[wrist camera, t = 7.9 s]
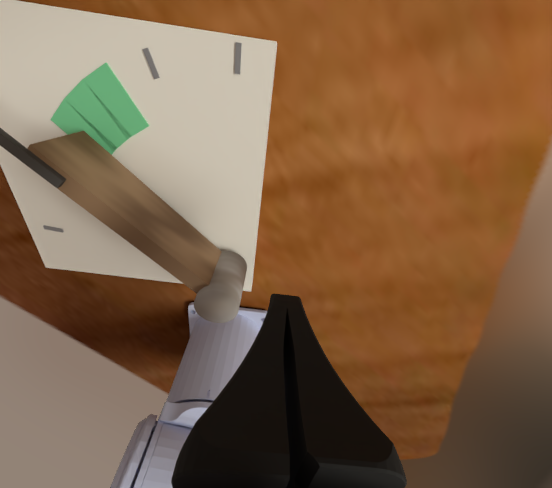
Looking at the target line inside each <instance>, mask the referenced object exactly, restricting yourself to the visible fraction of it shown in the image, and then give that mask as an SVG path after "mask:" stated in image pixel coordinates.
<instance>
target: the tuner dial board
mask: <svg viewBox="0 0 552 488" xmlns="http://www.w3.org/2000/svg"><path fill="white" fill-rule="evenodd" d="M276 51H277V42H276V41H269V40H263V39H257V38H250V37H244V36H238V35H231V34H225V33H219V32H212V31H206V30H200V29H193V28H187V27H181V26H174V25H168V24H162V23H155V22H149V21H143V20H136V19H130V18H124V17H117V16H111V15H105V14H98V13H92V12H86V11H80V10H73V9H67V8H61V7H54V6H48V5H42V4H35V3H29V2H23V1H16V0H0V128H1V129H3V130H4V131H5V132H6V133H8V134H9V135H10V136H12V137H13V138H14V139H15V140H17V141H18V142H19V143H21V144H22V145H23V146H24V147H26V148H28V147H29V145H30V144H34V143H38V142H41V141H45V140H49V139H53V138H57V137H61V136H65V135H68V134H72V133H76V132H80V131H85V132H86V133H87V134H88V135H89V136H90V137H92V138H93V139H94V140H95V141H96V142H97V143H98V144H100V145H101V146H102V147H103V148H104V149H105V150H106V151H108V152H109V153H110V154H111V155H112V156H113V157H114V158H116V159H117V160H118V161H119V162H120V163H121V164H122V165H123V166H125V167H126V168H127V169H128V170H129V171H130V172H131V173H133V174H134V175H135V176H136V177H137V178H138V179H139V180H141V181H142V182H143V183H144V184H145V185H146V186H147V187H149V188H150V189H151V190H152V191H153V192H154V193H155V194H157V195H158V196H159V197H160V198H161V199H162V200H163V201H165V202H166V203H167V204H168V205H169V206H170V207H171V208H173V209H174V210H175V211H176V212H177V213H178V214H179V215H181V216H182V217H183V218H184V219H185V220H186V221H187V222H189V223H190V224H191V225H192V226H193V227H194V228H195V229H197V230H198V231H199V232H200V233H201V234H202V235H203V236H205V237H206V238H207V239H208V240H209V241H210V242H211V243H213V244H214V245H215V246H216V247H217V248H218V249H219V250H220V251H232V252H235V253H237V254H239V255H241V256H242V257H243V258H244V260H245V261H246V264H247V271H246V276H245V281H244V286H243V291H250V292H251V289H252V282H253V272H254V263H255V253H256V244H257V234H258V224H259V215H260V205H261V196H262V186H263V176H264V167H265V157H266V147H267V138H268V128H269V119H270V109H271V99H272V90H273V80H274V71H275V61H276ZM0 165H1V167H2V170H3V172H4V174H5V177H6V179H7V181H8V183H9V186H10V188H11V190H12V192H13V195H14V197H15V199H16V201H17V204H18V206H19V208H20V210H21V213H22V215H23V217H24V219H25V222H26V224H27V226H28V228H29V231H30V233H31V235H32V238H33V240H34V242H35V244H36V247H37V249H38V251H39V253H40V256H41V258H42V260H43V262H44V265H45V267H46V268H54V269H63V270H71V271H80V272H88V273H97V274H105V275H114V276H122V277H131V278H139V279H148V280H156V281H165V282H173V283H182V282H181V281H179V280H178V279H177V278H175V277H174V276H173V275H172V274H170V273H169V272H168V271H166V270H165V269H164V268H162V267H161V266H160V265H158V264H157V263H156V262H154V261H153V260H152V259H150V258H149V257H148V256H146V255H145V254H144V253H142V252H141V251H140V250H138V249H137V248H136V247H134V246H133V245H132V244H130V243H129V242H128V241H126V240H125V239H124V238H122V237H121V236H120V235H118V234H117V233H116V232H114V231H113V230H112V229H110V228H109V227H108V226H106V225H105V224H104V223H102V222H101V221H100V220H98V219H97V218H96V217H94V216H93V215H92V214H90V213H89V212H88V211H86V210H85V209H84V208H82V207H81V206H80V205H78V204H77V203H76V202H74V201H73V200H72V199H70V198H69V197H68V196H66V195H65V194H64V193H62V192H61V191H60V190H58V189H57V188H56V187H54V186H53V185H52V184H50V183H49V182H48V181H46V180H45V179H44V178H42V177H41V176H40V175H38V174H37V173H36V172H34V171H33V170H32V169H30V168H29V167H28V166H26V165H25V164H24V163H22V162H21V161H20V160H19V159H17V158H16V157H15V156H13V155H12V154H11V153H9V152H8V151H7V150H5V149H4V148H3V147H1V146H0ZM182 284H183V283H182Z"/></svg>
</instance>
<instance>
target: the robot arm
mask: <svg viewBox="0 0 552 488" xmlns="http://www.w3.org/2000/svg"><path fill="white" fill-rule="evenodd" d="M193 310H194V311H193ZM188 316H189V329H190V339H189V341H188V344H187V347H186V350H185V352H184V355H183V358H182V360H181V363H180V366H179V368H178V371H177V374H176V377H175V379H174V382H173V385H172V387H171V390H170V393H169V396H168V398H167V401H166V402H165V404H164V406H163V409H162V412H161V414H160V417H159V419H158V421H156V418H157V415H153V414H150V415H149V416H148V417H147V418H145V419H144V420H142V421H141V422H139V423H138V425H137V427H136V429H135V431H134V433H133V436H132V438H131V440H130V442H129V444H128V446H127V449H126V451H125V453H124V456H123V458H122V460H121V463H120V465H119V467H118V470H117V472H116V474H115V477H114V479H113V482H112V484H111V487H110V488H404V487H405V486H406V477H405V473H404V470H403V467H402V464H401V461H400V459H399V456H398V454H397V451H396V449H395V447H394V444H393V443H392V442H391V441H390V439H389V438H388V437H387V436H386V435H385V434H384V433H383V432H382V431H381V430H380V429H379V427H378V426H377V425H376V424H375V423H374V422H373V421H372V419H371V418H370V417H369V416H368V415H367V413H366V412H365V411H364V410H363V409H362V407H361V406H360V405H359V404H358V402H357V401H356V400H355V398H354V397H353V396H352V394H351V393H350V392H349V390H348V389H347V388H346V386H345V385H344V384H343V382H342V381H341V379H340V378H339V376H338V375H337V373H336V372H335V370H334V369H333V367H332V365H331V364H330V362H329V360H328V359H327V357H326V355H325V354H324V352H323V350H322V348H321V346H320V344H319V342H318V340H317V338H316V336H315V334H314V332H313V330H312V328H311V326H310V323H309V321H308V319H307V316H306V314H305V311H304V308H303V305H302V302H301V299H300V298H299V297H298V296H289V295H281V294H272V295H271V298H270V304H269V308H268V311H265V310H257V309H248V308H239V311H238V314H237V316H236V317H235V318H234V319H233V320H231V321H229V322H225V323H214V322H210V321H207V320H205V319H203V318H202V317H200V316H199V315H198V314H197V312H196V311H195V309H194V302H191V303H190V304H189V305H188ZM263 318H265V319H263Z"/></svg>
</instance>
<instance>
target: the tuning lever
mask: <svg viewBox="0 0 552 488" xmlns="http://www.w3.org/2000/svg"><path fill="white" fill-rule="evenodd" d="M0 146H1V147H3V148H4V149H5V150H7V151H8V152H9V153H11V154H12V155H13V156H15V157H16V158H17V159H19V160H20V161H21V162H22V163H24V164H25V165H26V166H28V167H29V168H30V169H32V170H33V171H34V172H36V173H37V174H38V175H40V176H41V177H42V178H44V179H45V180H46V181H48V182H49V183H50V184H52V185H53V186H54V187H56V188H57V189H58V190H60V191H61V192H62V193H64V194H65V195H66V196H68V197H69V198H70V199H72V200H73V201H74V202H76V203H77V204H78V205H80V206H81V207H82V208H84V209H85V210H86V211H88V212H89V213H90V214H92V215H93V216H94V217H96V218H97V219H98V220H100V221H101V222H102V223H104V224H105V225H106V226H108V227H109V228H110V229H112V230H113V231H114V232H116V233H117V234H118V235H120V236H121V237H122V238H124V239H125V240H126V241H128V242H129V243H130V244H132V245H133V246H134V247H136V248H137V249H138V250H140V251H141V252H142V253H144V254H145V255H146V256H148V257H149V258H150V259H152V260H153V261H154V262H156V263H157V264H158V265H160V266H161V267H162V268H164V269H165V270H166V271H168V272H169V273H170V274H172V275H173V276H174V277H175V278H177V279H178V280H179V281H181V282H182V283H183V284H185V285H186V286H187V287H189V288H190V289H191V290H193V291H194V292H195V293H197V296H196V298H195V301H194V309H195V311H196V312H197V314H198V315H199V316H200V317H202V318H203V319H205V320H207V321H210V322H214V323H225V322H229V321H231V320H233V319H234V318H235V317H236V316H237V314H238V311H239V306H240V301H241V296H242V291H243V286H244V281H245V276H246V271H247V264H246V261H245V260H244V258H243V257H242V256H241V255H239V254H237V253H235V252H232V251H220V250H219V249H218V248H217V247H216V246H215V245H214V244H213V243H211V242H210V241H209V240H208V239H207V238H206V237H205V236H203V235H202V234H201V233H200V232H199V231H198V230H197V229H195V228H194V227H193V226H192V225H191V224H190V223H189V222H187V221H186V220H185V219H184V218H183V217H182V216H181V215H179V214H178V213H177V212H176V211H175V210H174V209H173V208H171V207H170V206H169V205H168V204H167V203H166V202H165V201H163V200H162V199H161V198H160V197H159V196H158V195H157V194H155V193H154V192H153V191H152V190H151V189H150V188H149V187H147V186H146V185H145V184H144V183H143V182H142V181H141V180H139V179H138V178H137V177H136V176H135V175H134V174H133V173H131V172H130V171H129V170H128V169H127V168H126V167H125V166H123V165H122V164H121V163H120V162H119V161H118V160H117V159H116V158H114V157H113V156H112V155H111V154H110V153H109V152H108V151H106V150H105V149H104V148H103V147H102V146H101V145H100V144H98V143H97V142H96V141H95V140H94V139H93V138H92V137H90V136H89V135H88V134H87V133H86V132H85V131H80V132H76V133H72V134H68V135H65V136H61V137H57V138H53V139H49V140H45V141H41V142H38V143H34V144H30V145H29V147H28V148H26V147H24V146H23V145H22V144H21V143H19V142H18V141H17V140H15V139H14V138H13V137H12V136H10V135H9V134H8V133H6V132H5V131H4V130H3V129H1V128H0Z"/></svg>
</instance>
